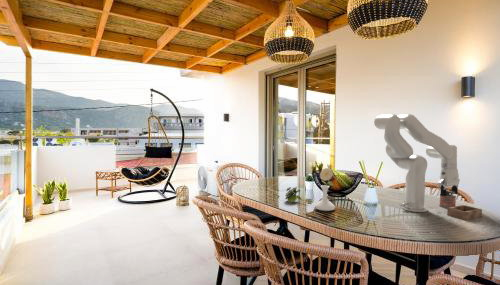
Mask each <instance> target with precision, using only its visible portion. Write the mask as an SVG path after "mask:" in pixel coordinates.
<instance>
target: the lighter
mask: <svg viewBox="0 0 500 285" xmlns="http://www.w3.org/2000/svg"><path fill="white" fill-rule="evenodd" d="M446 190H447V196H441V195H440V194H439V206H438V207H440V208H445V209H448V208H449V207H455V206H456V205H457V204H456V202H457V201H456V200H457V195H456V194H455V192H452V191H449V190H448V189H446Z"/></svg>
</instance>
